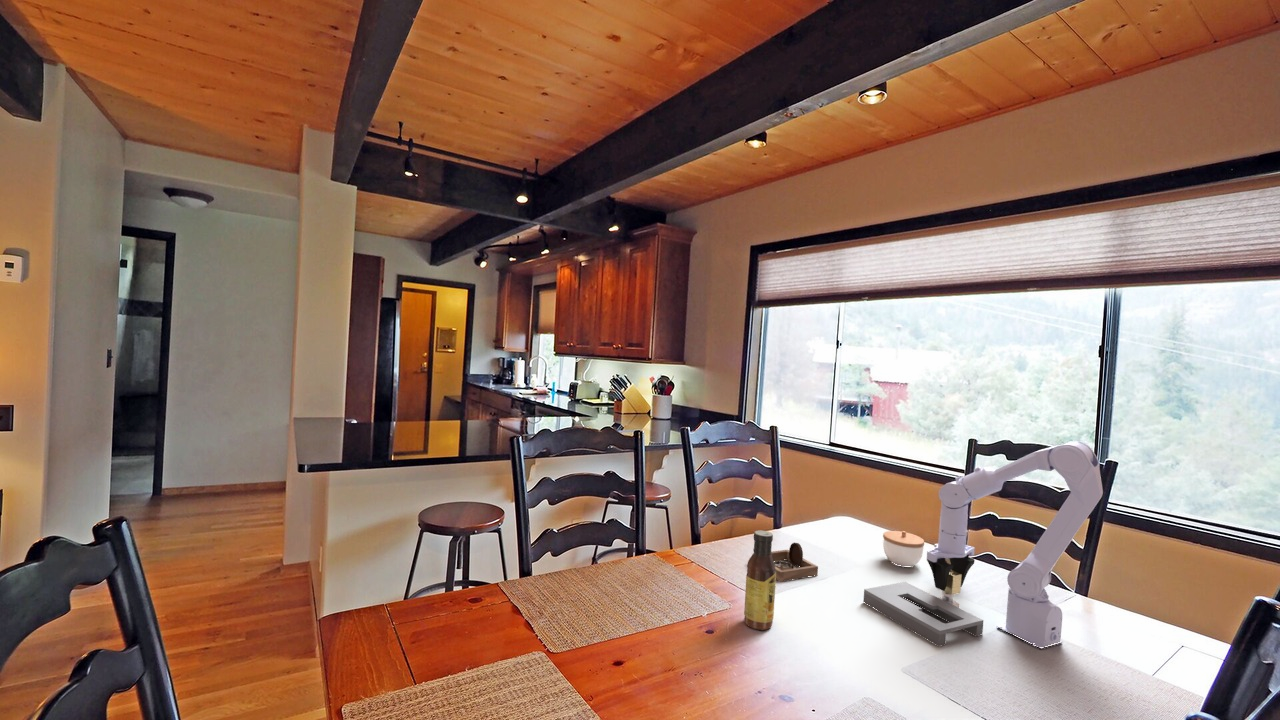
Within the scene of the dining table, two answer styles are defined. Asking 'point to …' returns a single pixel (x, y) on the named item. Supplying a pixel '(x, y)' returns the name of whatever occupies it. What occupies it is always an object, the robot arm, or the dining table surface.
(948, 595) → the keyhole peg
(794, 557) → the compass
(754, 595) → the sauce bottle
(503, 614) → the dining table surface
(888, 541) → the lidded jar
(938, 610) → the keyhole board
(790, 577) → the rim
